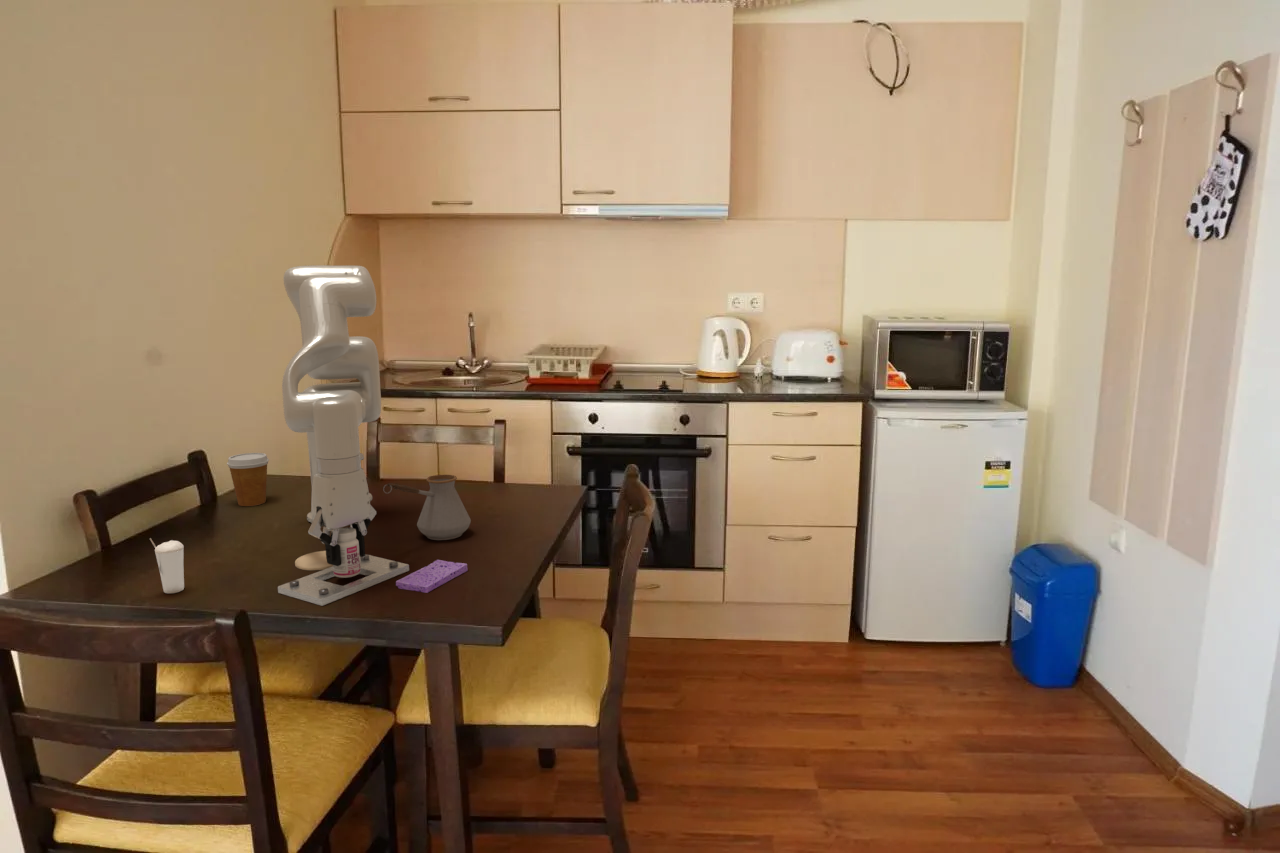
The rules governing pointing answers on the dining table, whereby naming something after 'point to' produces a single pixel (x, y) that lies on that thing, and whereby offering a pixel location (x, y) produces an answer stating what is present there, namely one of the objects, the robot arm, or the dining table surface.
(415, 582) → the sponges
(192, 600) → the dining table surface
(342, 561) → the pill bottle
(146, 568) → the dining table surface
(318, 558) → the cork coaster
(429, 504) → the coffee pot
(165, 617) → the dining table surface
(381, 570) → the flange plate
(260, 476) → the disposable coffee cup
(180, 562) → the milkshake
